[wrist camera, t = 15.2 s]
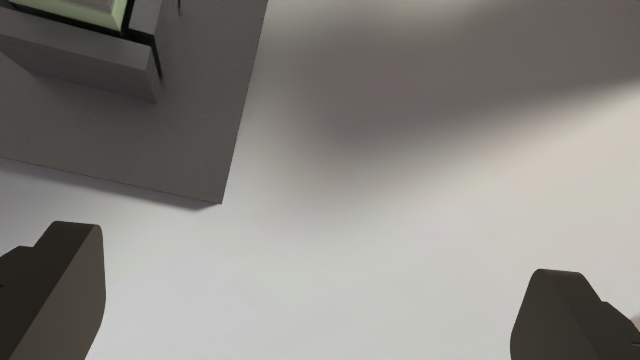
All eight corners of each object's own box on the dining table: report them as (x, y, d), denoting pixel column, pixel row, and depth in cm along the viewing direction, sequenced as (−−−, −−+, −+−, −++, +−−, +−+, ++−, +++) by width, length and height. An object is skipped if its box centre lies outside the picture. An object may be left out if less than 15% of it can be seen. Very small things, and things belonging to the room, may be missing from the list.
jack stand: (278, -55, 35) (316, -156, 25) (220, 203, 34) (233, 208, 24) (-4, -144, 32) (-95, -304, 22) (-79, 139, 31) (-213, 113, 20)
